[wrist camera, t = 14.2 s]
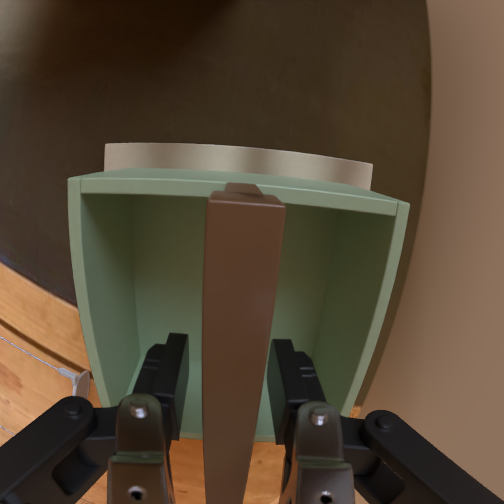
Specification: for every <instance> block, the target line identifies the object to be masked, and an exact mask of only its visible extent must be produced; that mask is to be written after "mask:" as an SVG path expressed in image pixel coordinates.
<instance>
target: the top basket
mask: <svg viewBox="0 0 504 504" xmlns="http://www.w3.org/2000/svg"><path fill="white" fill-rule="evenodd" d="M409 208H410V204H409V203H406V202H403V201H400V200H397V199H394V198H391V197H388V196H385V195H382V194H379V193H375V192H372V191H369V190H366V189H362V188H359V187H356V186H352V185H349V184H342V183H335V182H327V181H320V180H312V179H303V178H294V177H285V176H275V175H264V174H253V173H241V172H227V171H211V170H192V169H167V168H123V169H116V170H110V171H104V172H98V173H92V174H87V175H82V176H76V177H71V178H68V218H69V235H70V248H71V259H72V268H73V277H74V284H75V291H76V298H77V304H78V310H79V316H80V322H81V327H82V332H83V337H84V341H85V346H86V350H87V355H88V359H89V363H90V367H91V371H92V375H93V378H94V382H95V385H96V389H97V392H98V396H99V399H100V402H101V406H102V408H104V407H114V406H118V404H119V402H120V401H121V399H123V398H124V397H125V396H127V395H129V394H132V391H133V388H134V385H135V383H136V380H137V377H138V375H139V372H140V369H141V368H142V364H143V361H144V359H145V356H146V353H147V351H148V350H149V349H150V348H151V347H152V346H153V345H154V344H156V343H158V344H166V341H167V338H168V335H169V333H170V332H173V333H184V334H188V336H189V379H188V385H187V391H186V397H185V404H184V410H183V417H182V423H181V430H180V437H179V438H187V439H198V440H203V457H204V478H205V495H206V504H243V499H244V494H245V489H246V483H247V478H248V472H249V467H250V461H251V455H252V449H253V444H254V442H276V441H275V434H274V427H273V421H272V414H271V408H270V401H269V394H268V388H267V366H268V359H269V352H270V345H271V340H272V339H291V340H292V343H293V347H294V350H295V351H304V352H305V353H306V354H307V355H308V356H309V357H310V358H311V359H312V362H313V365H314V368H315V370H316V373H317V377H318V379H319V381H320V384H321V387H322V390H323V392H324V395H325V398H326V401H327V403H329V404H331V405H333V406H334V407H335V408H336V409H337V410H338V411H339V414H340V415H342V416H345V417H349V414H350V412H351V410H352V407H353V405H354V402H355V400H356V398H357V395H358V393H359V390H360V387H361V385H362V382H363V380H364V377H365V374H366V372H367V369H368V366H369V363H370V360H371V358H372V355H373V352H374V349H375V346H376V343H377V340H378V337H379V333H380V330H381V327H382V324H383V320H384V317H385V314H386V310H387V307H388V303H389V299H390V296H391V292H392V288H393V284H394V280H395V276H396V272H397V268H398V264H399V259H400V255H401V250H402V245H403V240H404V235H405V230H406V225H407V219H408V214H409Z"/></svg>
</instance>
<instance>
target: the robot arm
mask: <svg viewBox="0 0 504 504" xmlns="http://www.w3.org/2000/svg"><path fill="white" fill-rule="evenodd" d="M188 379H189V336H188V334H184V333H173V332H170V333H169V335H168V338H167V341H166V344H158V343H156V344H154V345H153V346H152V347H151V348H150V349H149V350H148V351H147V353H146V356H145V359H144V361H143V364H142V368H141V369H140V372H139V375H138V377H137V380H136V383H135V385H134V388H133V391H132V394H129V395H127V396H125V397H124V398H123V399H121V401H120V402H119V404H118V406H114V407H104V408H93V406H92V404H91V402H90V401H88V400H87V399H85V398H83V397H80V396H68V397H65V398H63V399H61V400H60V401H58V402H57V403H56V404H54V405H53V406H52V407H51V408H49V409H48V410H47V411H45V412H44V413H43V414H42V415H40V416H39V417H38V418H37V419H35V420H34V421H33V422H31V423H30V424H29V425H28V426H26V427H25V428H24V429H22V430H21V431H20V432H19V433H17V434H16V435H15V436H14V437H12V438H11V439H10V440H8V441H7V442H6V443H5V444H3V445H2V446H1V447H0V504H75V503H76V502H77V501H78V500H79V499H80V498H81V497H82V496H83V495H84V494H85V493H86V492H87V491H88V490H89V489H90V488H91V487H92V486H93V485H94V483H95V482H96V481H97V480H98V479H99V478H100V477H101V476H102V475H103V474H104V473H105V472H106V471H107V470H108V475H107V504H176V501H175V495H174V488H173V480H172V472H171V464H170V455H169V451H170V445H171V440H177V441H179V437H180V430H181V423H182V417H183V410H184V404H185V397H186V391H187V385H188ZM267 388H268V394H269V401H270V408H271V414H272V421H273V427H274V434H275V441H276V445H284V444H285V450H286V453H285V456H284V461H283V471H282V480H281V489H280V498H279V503H278V504H355V493H354V492H355V491H354V488H355V489H356V490H357V491H358V492H359V494H360V495H361V496H362V497H363V498H364V499H365V500H366V501H367V502H368V503H369V504H504V501H503V500H501V499H500V498H499V497H497V496H496V495H495V494H494V493H492V492H491V491H490V490H488V489H487V488H486V487H484V486H483V485H482V484H481V483H479V482H478V481H477V480H476V479H474V478H473V477H472V476H470V475H469V474H468V473H467V472H465V471H464V470H463V469H461V468H460V467H459V466H458V465H457V464H455V463H454V462H453V461H452V460H450V459H449V458H448V457H447V456H445V455H444V454H443V453H442V452H440V451H439V450H438V449H437V448H436V447H434V446H433V445H432V444H431V443H430V442H428V441H427V440H426V439H425V438H424V437H422V436H421V435H420V434H419V433H417V432H416V431H415V430H414V429H413V428H411V427H410V426H409V425H408V424H407V423H406V422H404V421H403V420H402V419H401V418H400V417H398V416H397V415H396V414H394V413H392V412H390V411H386V410H376V411H373V412H371V413H369V414H368V415H367V416H366V418H365V420H364V419H356V418H349V417H345V416H342V415H340V414H339V411H338V410H337V409H336V408H335V407H334V406H333V405H331V404H329V403H327V401H326V398H325V395H324V392H323V390H322V387H321V384H320V381H319V379H318V377H317V373H316V370H315V368H314V365H313V362H312V359H311V358H310V357H309V356H308V355H307V354H306V353H305V352H304V351H295V350H294V347H293V343H292V340H291V339H272V340H271V345H270V352H269V359H268V366H267ZM383 461H384V462H385V463H386V464H387V465H388V466H387V465H386V464H385V463H384V462H383ZM398 475H399V476H400V477H401V478H402V479H401V478H400V477H399V476H398Z"/></svg>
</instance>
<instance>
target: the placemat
mask: <svg viewBox="0 0 504 504" xmlns="http://www.w3.org/2000/svg"><path fill="white" fill-rule="evenodd" d="M123 168H167V169H192V170H211V171H227V172H241V173H253V174H264V175H275V176H285V177H294V178H303V179H312V180H320V181H327V182H335V183H342V184H349V185H352V186H356V187H359V188H362V189H366V190H369V191H370V185H371V177H372V169H373V164H369V163H364V162H358V161H352V160H347V159H340V158H334V157H328V156H321V155H314V154H306V153H298V152H290V151H282V150H272V149H262V148H251V147H239V146H225V145H208V144H184V143H110V144H105V159H104V171H110V170H116V169H123Z"/></svg>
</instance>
